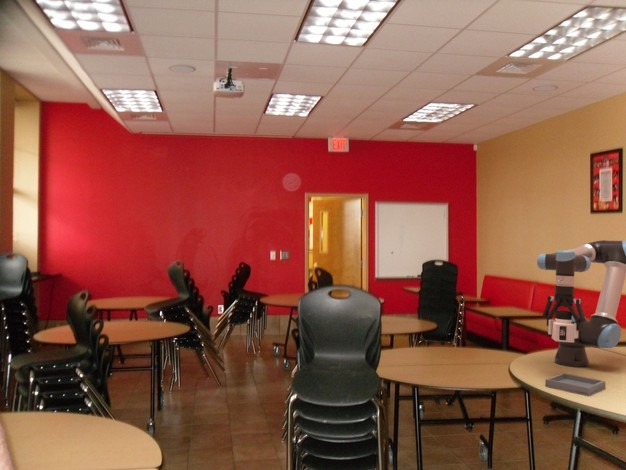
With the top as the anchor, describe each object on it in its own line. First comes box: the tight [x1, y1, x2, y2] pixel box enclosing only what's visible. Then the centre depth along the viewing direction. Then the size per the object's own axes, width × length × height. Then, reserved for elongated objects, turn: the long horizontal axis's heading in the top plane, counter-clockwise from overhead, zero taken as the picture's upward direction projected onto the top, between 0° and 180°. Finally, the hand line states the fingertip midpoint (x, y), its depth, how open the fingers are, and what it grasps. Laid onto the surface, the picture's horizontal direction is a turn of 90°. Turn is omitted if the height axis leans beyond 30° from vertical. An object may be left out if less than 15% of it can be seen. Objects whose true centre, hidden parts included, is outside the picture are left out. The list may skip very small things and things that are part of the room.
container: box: [551, 309, 574, 343], centre depth 241 cm, size 8×8×13 cm
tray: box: [544, 372, 606, 397], centre depth 226 cm, size 17×17×3 cm
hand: (562, 336), depth 241 cm, fingers closed on container, 10 cm apart
